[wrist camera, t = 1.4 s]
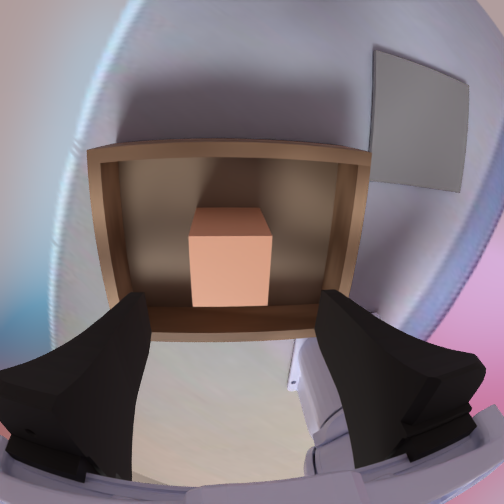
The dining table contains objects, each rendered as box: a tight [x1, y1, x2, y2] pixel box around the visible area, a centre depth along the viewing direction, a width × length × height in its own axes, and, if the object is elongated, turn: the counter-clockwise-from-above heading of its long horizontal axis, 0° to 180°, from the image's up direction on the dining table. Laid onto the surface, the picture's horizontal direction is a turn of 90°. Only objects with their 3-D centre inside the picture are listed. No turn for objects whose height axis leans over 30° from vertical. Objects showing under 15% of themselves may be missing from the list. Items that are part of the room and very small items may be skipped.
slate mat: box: [369, 50, 469, 193], centre depth 18 cm, size 10×10×1 cm
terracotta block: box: [188, 207, 272, 307], centre depth 17 cm, size 4×4×5 cm
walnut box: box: [87, 138, 372, 342], centre depth 19 cm, size 13×16×4 cm
